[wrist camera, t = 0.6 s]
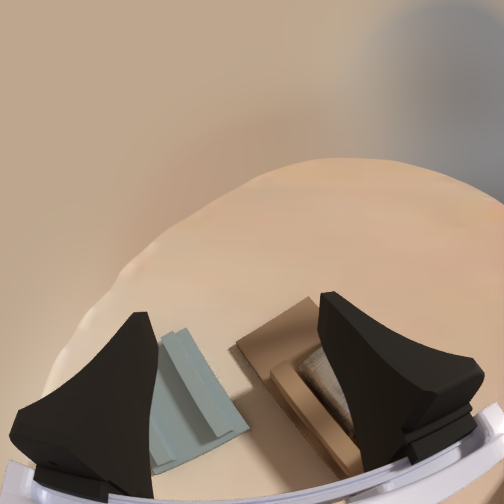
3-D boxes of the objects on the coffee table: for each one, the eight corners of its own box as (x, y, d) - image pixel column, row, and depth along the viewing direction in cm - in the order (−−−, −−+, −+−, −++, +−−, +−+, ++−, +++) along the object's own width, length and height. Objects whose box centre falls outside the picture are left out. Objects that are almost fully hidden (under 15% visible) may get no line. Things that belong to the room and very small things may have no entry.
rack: (250, 428, 23) (248, 426, 21) (159, 474, 20) (148, 475, 18) (188, 331, 29) (182, 320, 27) (110, 372, 26) (98, 364, 24)
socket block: (426, 435, 20) (446, 430, 17) (357, 498, 17) (370, 504, 14) (307, 300, 31) (311, 279, 28) (236, 344, 28) (231, 328, 25)
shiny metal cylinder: (374, 413, 22) (392, 403, 19) (347, 437, 20) (362, 431, 18) (324, 354, 26) (334, 337, 24) (295, 373, 25) (302, 359, 22)
